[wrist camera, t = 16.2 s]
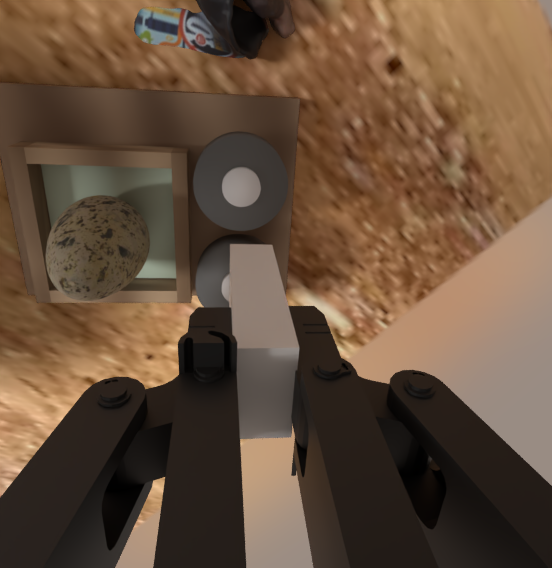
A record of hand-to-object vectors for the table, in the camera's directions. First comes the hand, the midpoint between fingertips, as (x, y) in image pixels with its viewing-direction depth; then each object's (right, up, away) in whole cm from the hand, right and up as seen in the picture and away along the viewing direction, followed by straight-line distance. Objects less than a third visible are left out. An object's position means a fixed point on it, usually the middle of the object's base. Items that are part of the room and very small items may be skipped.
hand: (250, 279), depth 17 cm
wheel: (-2, +7, +14) cm, 16 cm away
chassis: (-8, +6, +18) cm, 20 cm away
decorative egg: (-11, +4, +17) cm, 21 cm away
